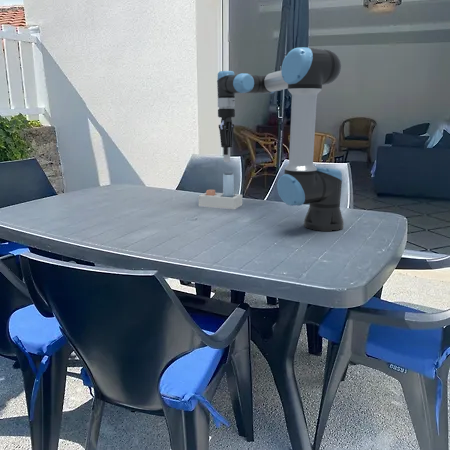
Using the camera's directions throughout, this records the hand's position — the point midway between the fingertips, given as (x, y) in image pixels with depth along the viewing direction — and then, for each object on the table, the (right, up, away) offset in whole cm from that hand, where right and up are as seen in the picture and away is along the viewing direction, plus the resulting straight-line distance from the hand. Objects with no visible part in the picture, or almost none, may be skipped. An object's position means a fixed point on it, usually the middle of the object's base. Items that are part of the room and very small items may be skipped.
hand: (226, 161), depth 194 cm
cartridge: (+1, -20, +5) cm, 21 cm away
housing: (-3, -21, +7) cm, 22 cm away
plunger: (-8, -18, +8) cm, 21 cm away
